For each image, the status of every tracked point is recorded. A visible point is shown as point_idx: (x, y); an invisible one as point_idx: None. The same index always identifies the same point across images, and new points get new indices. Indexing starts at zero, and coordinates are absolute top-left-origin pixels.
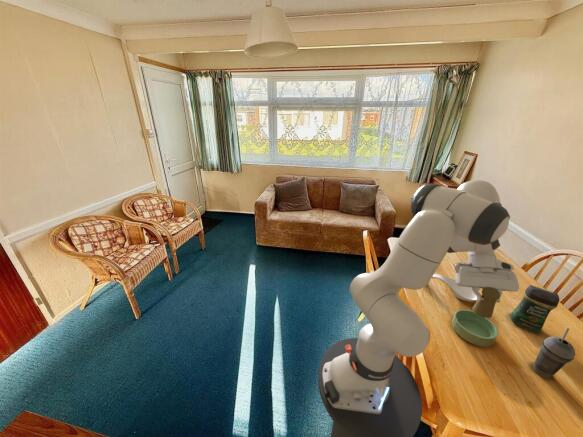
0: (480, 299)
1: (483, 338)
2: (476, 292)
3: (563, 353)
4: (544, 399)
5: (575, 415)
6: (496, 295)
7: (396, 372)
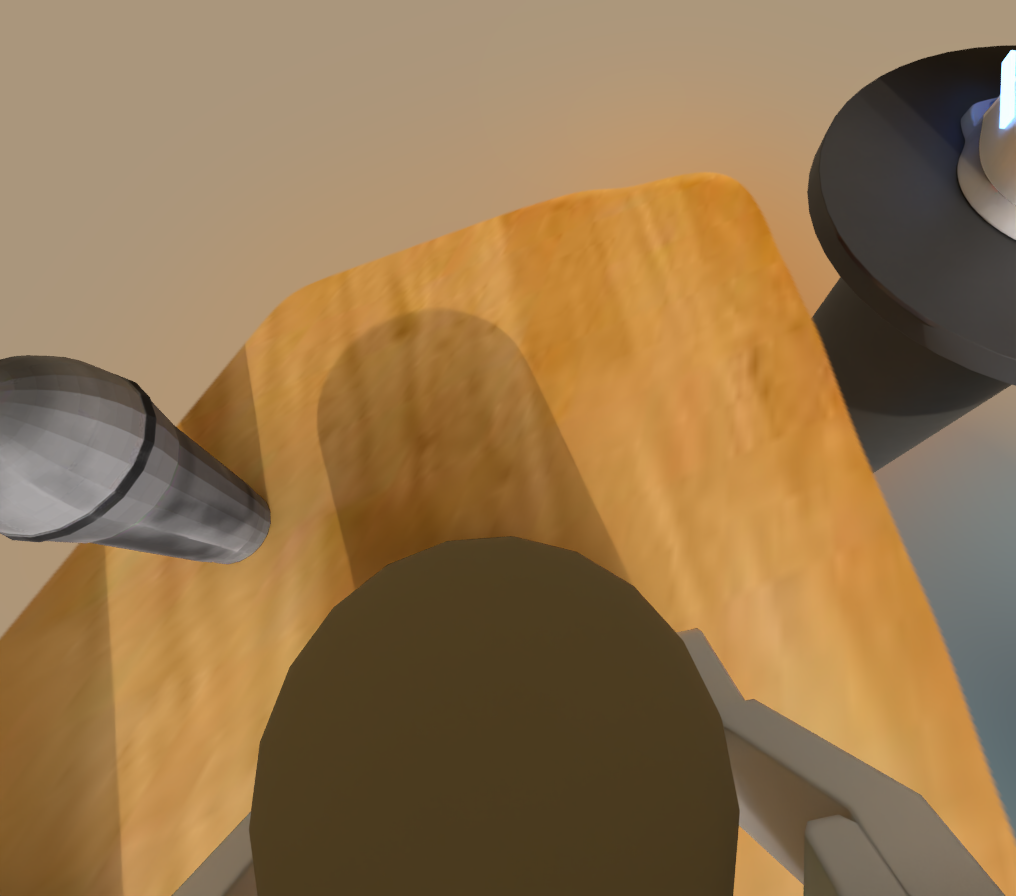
0: (686, 634)
1: None
2: (831, 768)
3: (72, 359)
4: (328, 369)
5: (247, 347)
6: (432, 555)
7: (960, 268)
